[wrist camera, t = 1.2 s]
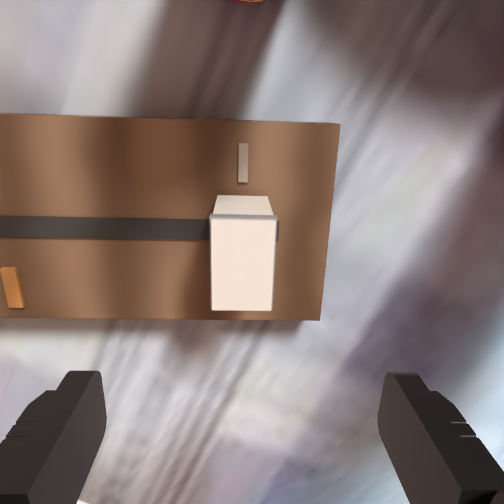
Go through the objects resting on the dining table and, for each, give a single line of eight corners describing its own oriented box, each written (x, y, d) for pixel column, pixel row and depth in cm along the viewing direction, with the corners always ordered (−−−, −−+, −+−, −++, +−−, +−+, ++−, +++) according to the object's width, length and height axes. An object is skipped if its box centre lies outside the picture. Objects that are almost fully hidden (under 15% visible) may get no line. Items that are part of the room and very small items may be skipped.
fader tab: (269, 194, 24) (277, 219, 19) (265, 269, 26) (272, 312, 20) (216, 193, 24) (209, 218, 18) (216, 268, 26) (210, 311, 20)
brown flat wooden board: (329, 122, 26) (341, 124, 23) (312, 301, 31) (320, 322, 28) (-86, 110, 25) (-132, 110, 22) (-36, 297, 30) (-68, 319, 27)
